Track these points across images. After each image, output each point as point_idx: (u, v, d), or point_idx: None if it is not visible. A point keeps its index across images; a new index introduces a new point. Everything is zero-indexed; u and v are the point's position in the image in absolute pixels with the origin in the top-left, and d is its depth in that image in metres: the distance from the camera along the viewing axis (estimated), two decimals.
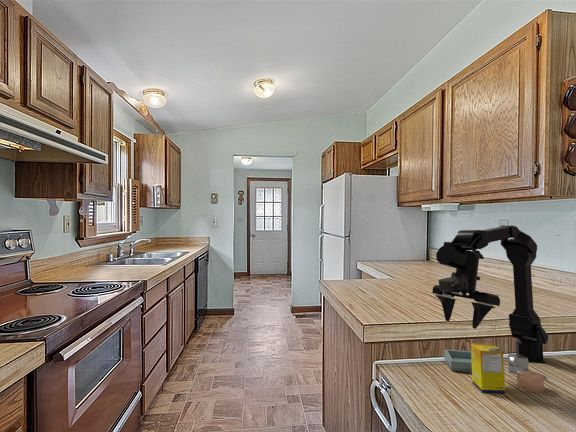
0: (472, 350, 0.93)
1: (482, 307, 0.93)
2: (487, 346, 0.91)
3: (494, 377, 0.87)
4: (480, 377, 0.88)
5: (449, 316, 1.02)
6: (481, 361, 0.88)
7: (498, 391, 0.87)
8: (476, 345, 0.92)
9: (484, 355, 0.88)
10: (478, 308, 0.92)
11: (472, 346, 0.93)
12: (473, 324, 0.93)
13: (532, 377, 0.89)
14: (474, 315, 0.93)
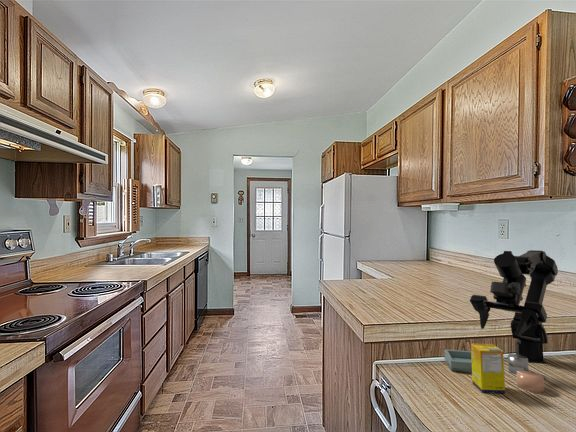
0: (472, 350, 0.93)
1: (528, 319, 0.95)
2: (487, 346, 0.91)
3: (494, 377, 0.87)
4: (480, 377, 0.88)
5: (484, 325, 1.00)
6: (481, 361, 0.88)
7: (498, 391, 0.87)
8: (476, 345, 0.92)
9: (484, 355, 0.88)
10: (528, 316, 0.93)
11: (472, 346, 0.93)
12: (518, 331, 0.93)
13: (532, 377, 0.89)
14: (521, 322, 0.93)
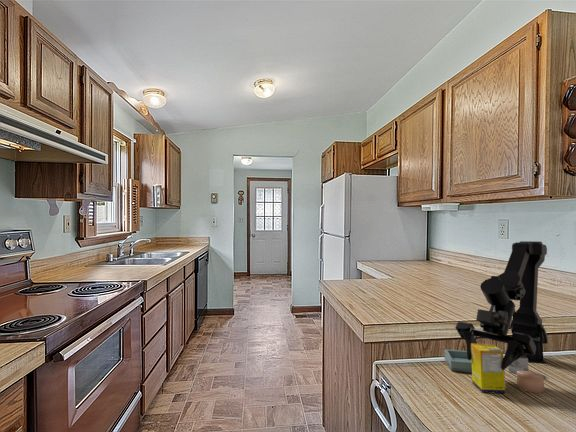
0: (472, 350, 0.93)
1: (514, 351, 0.89)
2: (487, 346, 0.91)
3: (494, 377, 0.87)
4: (480, 377, 0.88)
5: None
6: (481, 360, 0.88)
7: (498, 391, 0.87)
8: (476, 345, 0.92)
9: (484, 355, 0.88)
10: (513, 348, 0.87)
11: (472, 346, 0.93)
12: (503, 364, 0.87)
13: (532, 377, 0.89)
14: (506, 355, 0.87)
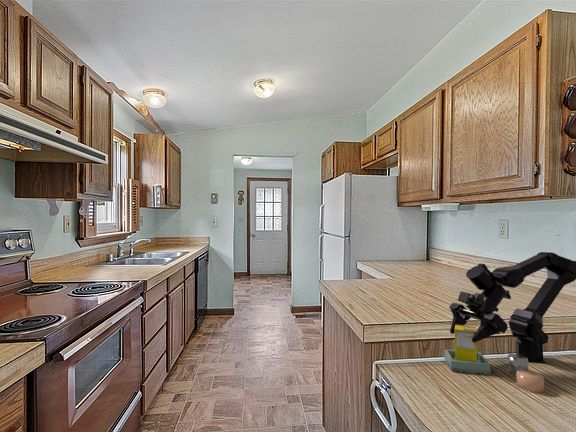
0: None
1: (488, 328, 1.01)
2: (466, 327, 1.06)
3: (467, 353, 1.03)
4: (455, 351, 1.05)
5: None
6: (455, 337, 1.05)
7: None
8: (457, 326, 1.08)
9: (458, 333, 1.04)
10: (484, 325, 1.00)
11: (455, 326, 1.09)
12: (473, 337, 1.01)
13: (532, 377, 0.89)
14: (478, 330, 1.01)
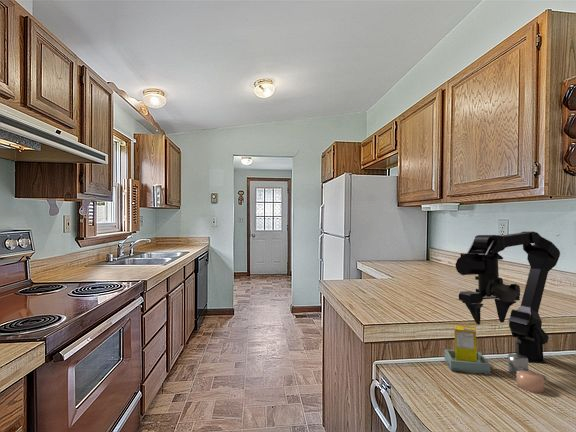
0: None
1: None
2: (466, 327, 1.06)
3: (467, 353, 1.03)
4: (455, 351, 1.05)
5: None
6: (455, 337, 1.05)
7: None
8: (457, 326, 1.08)
9: (457, 333, 1.04)
10: (510, 305, 1.07)
11: (455, 326, 1.09)
12: (503, 319, 1.07)
13: (532, 377, 0.89)
14: (505, 312, 1.07)
